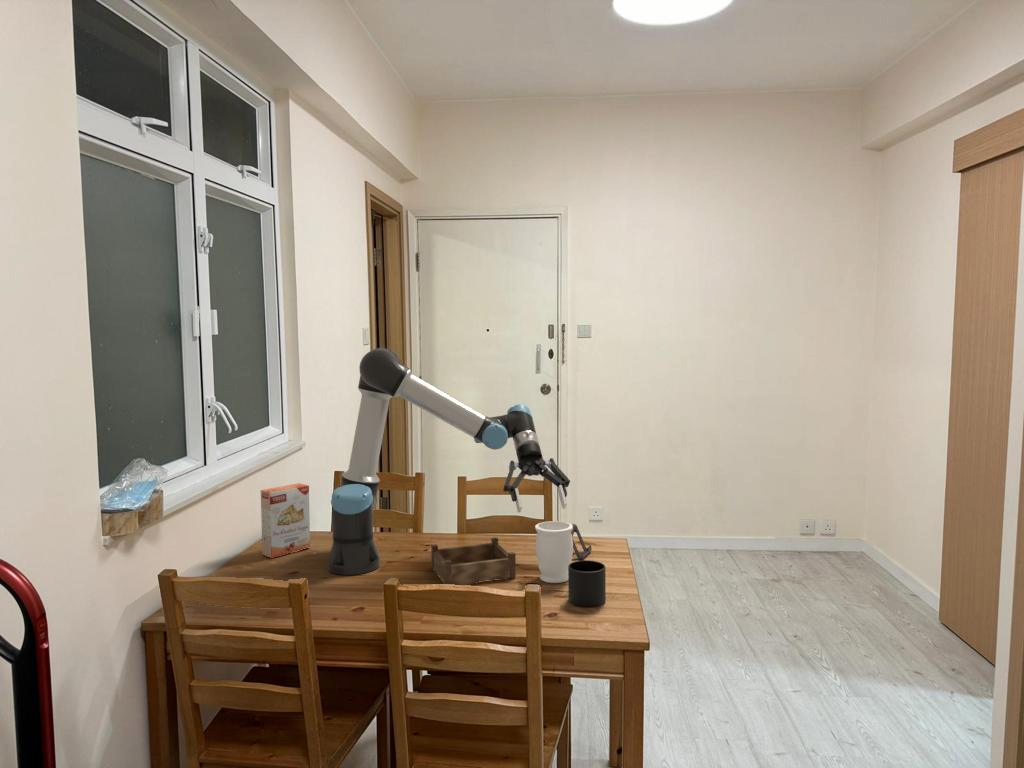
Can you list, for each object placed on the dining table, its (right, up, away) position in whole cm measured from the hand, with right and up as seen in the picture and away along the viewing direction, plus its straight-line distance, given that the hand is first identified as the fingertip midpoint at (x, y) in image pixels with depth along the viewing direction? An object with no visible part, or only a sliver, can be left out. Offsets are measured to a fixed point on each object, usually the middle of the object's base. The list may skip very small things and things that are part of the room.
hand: (542, 508), depth 211 cm
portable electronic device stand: (+10, -17, +12) cm, 23 cm away
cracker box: (-80, -17, +18) cm, 84 cm away
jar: (+3, -18, -9) cm, 20 cm away
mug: (+10, -19, -24) cm, 33 cm away
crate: (-20, -18, -4) cm, 27 cm away
